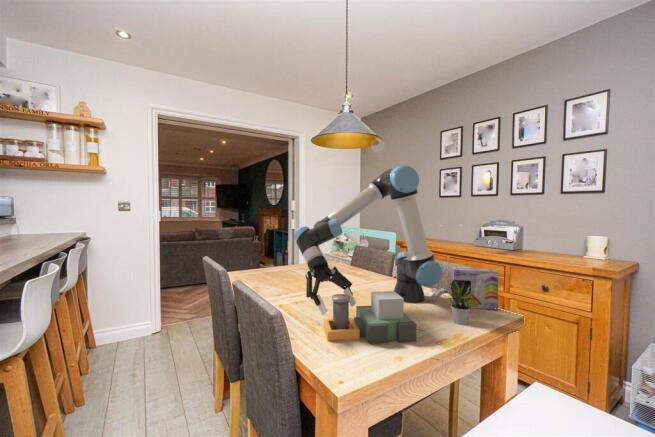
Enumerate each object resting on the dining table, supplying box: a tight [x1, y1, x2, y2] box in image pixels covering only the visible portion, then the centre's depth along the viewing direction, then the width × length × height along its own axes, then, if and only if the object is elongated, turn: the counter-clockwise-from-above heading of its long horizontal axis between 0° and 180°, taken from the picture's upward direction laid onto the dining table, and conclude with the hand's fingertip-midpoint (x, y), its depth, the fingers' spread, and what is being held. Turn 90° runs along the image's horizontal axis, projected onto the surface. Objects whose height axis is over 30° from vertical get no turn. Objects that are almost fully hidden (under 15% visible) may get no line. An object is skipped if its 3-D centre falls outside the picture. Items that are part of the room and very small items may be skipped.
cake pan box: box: [450, 266, 499, 311], centre depth 128 cm, size 19×5×18 cm, turn 72°
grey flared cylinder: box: [331, 293, 350, 330], centre depth 100 cm, size 6×6×13 cm
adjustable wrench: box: [428, 287, 446, 304], centre depth 145 cm, size 25×6×2 cm, turn 145°
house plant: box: [444, 281, 479, 326], centre depth 111 cm, size 14×14×16 cm
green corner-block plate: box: [323, 290, 417, 345], centre depth 102 cm, size 30×19×13 cm, turn 98°
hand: (340, 308), depth 100 cm, fingers open, 13 cm apart
